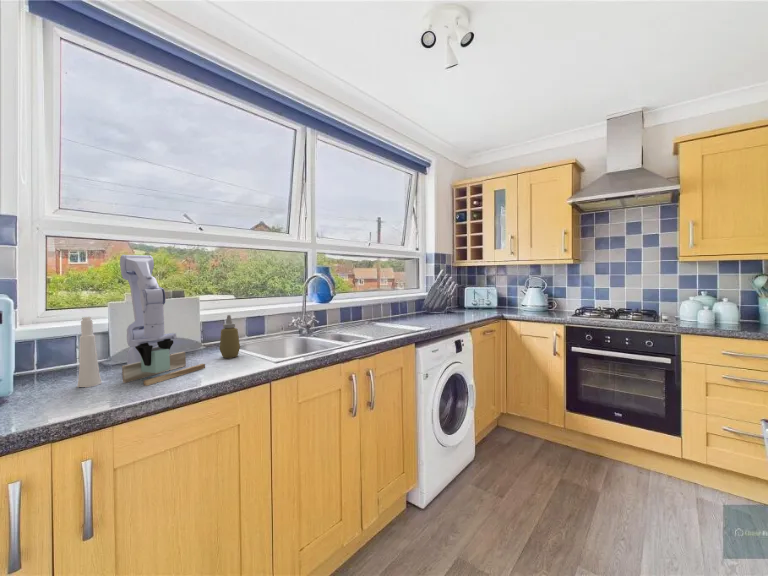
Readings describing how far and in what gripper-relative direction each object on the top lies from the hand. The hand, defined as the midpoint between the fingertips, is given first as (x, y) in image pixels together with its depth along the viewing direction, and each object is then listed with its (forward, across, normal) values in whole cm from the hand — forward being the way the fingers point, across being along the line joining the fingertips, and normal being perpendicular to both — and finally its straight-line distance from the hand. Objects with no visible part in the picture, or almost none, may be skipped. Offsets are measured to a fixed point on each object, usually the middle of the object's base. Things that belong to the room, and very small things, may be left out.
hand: (155, 363), depth 116 cm
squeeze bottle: (+5, +32, -1) cm, 33 cm away
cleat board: (+5, +4, 0) cm, 6 cm away
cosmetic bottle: (+5, -12, +14) cm, 19 cm away
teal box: (+2, 0, 0) cm, 2 cm away
